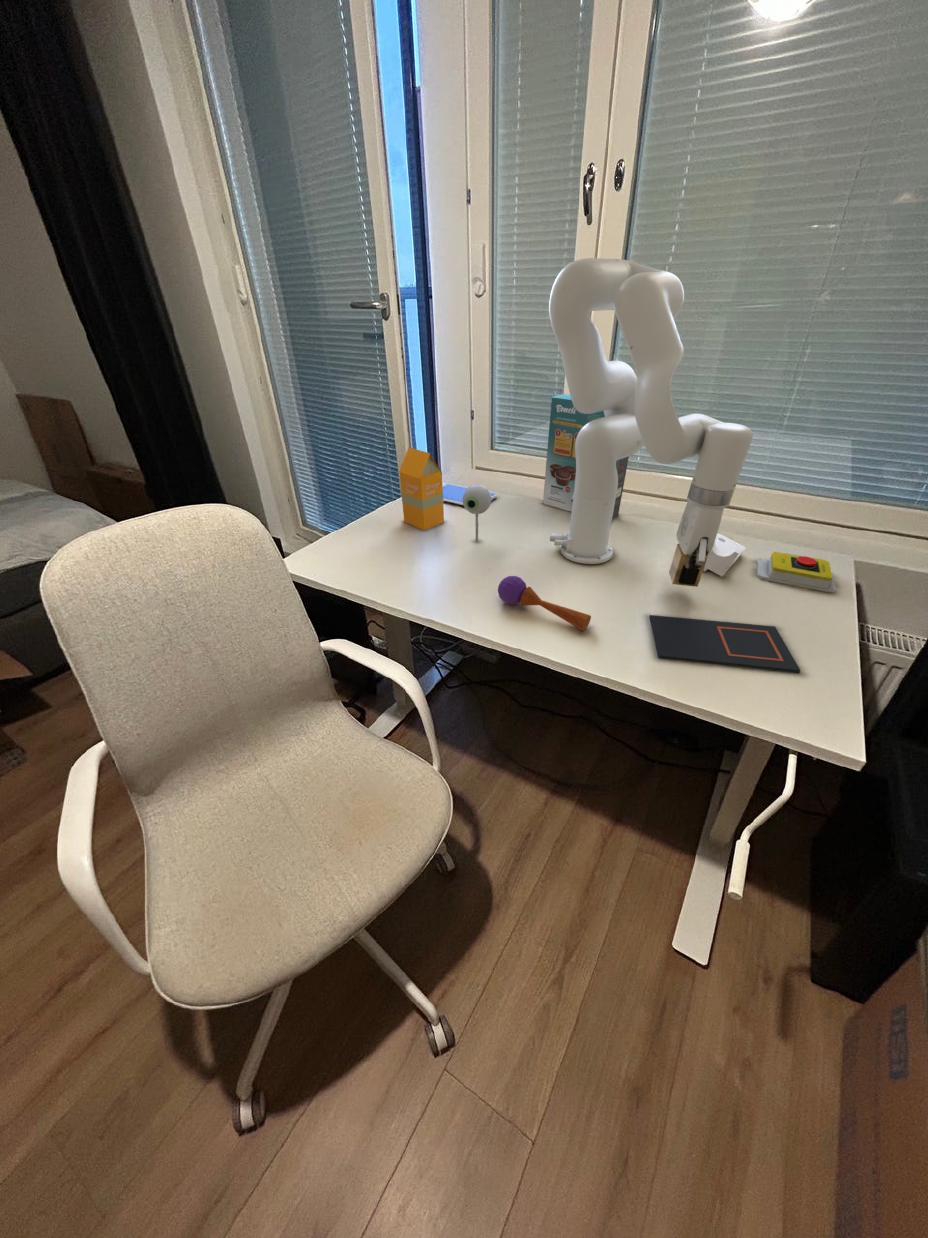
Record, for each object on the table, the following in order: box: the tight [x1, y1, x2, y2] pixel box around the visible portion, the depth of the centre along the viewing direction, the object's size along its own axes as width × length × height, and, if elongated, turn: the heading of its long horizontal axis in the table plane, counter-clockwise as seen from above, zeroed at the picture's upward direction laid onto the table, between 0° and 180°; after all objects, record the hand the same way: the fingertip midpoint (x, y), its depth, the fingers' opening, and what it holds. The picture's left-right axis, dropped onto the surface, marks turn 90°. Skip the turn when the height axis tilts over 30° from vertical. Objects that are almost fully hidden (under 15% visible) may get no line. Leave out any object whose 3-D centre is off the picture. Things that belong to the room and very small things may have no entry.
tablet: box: [443, 483, 498, 506], centre depth 151 cm, size 19×13×1 cm, turn 57°
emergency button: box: [756, 551, 837, 594], centre depth 107 cm, size 9×4×15 cm
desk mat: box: [649, 614, 801, 674], centre depth 89 cm, size 23×13×1 cm, turn 79°
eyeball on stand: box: [462, 484, 492, 543], centre depth 121 cm, size 7×7×15 cm
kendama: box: [497, 575, 592, 632], centre depth 96 cm, size 6×6×20 cm
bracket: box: [703, 532, 747, 577], centre depth 112 cm, size 13×7×8 cm, turn 138°
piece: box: [668, 543, 708, 588], centre depth 99 cm, size 5×5×8 cm
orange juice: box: [398, 446, 445, 531], centre depth 130 cm, size 8×9×20 cm
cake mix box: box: [542, 393, 630, 520], centre depth 134 cm, size 22×6×30 cm, turn 49°
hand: (684, 575), depth 101 cm, fingers closed on piece, 5 cm apart
